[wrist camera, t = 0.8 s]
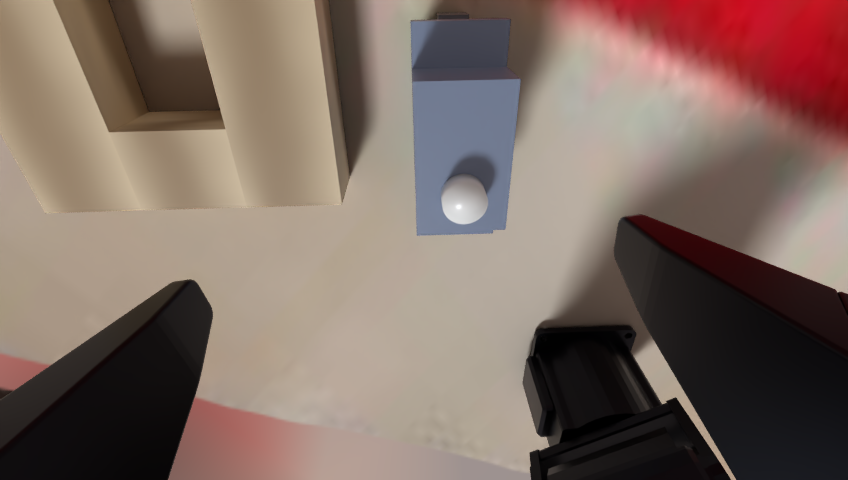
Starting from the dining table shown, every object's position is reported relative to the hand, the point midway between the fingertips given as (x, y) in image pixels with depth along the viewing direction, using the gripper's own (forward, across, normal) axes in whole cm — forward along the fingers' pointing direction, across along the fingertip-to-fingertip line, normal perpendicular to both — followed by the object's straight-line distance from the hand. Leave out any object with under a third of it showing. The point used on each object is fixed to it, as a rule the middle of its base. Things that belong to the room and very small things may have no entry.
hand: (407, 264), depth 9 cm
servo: (+12, -2, +1) cm, 13 cm away
